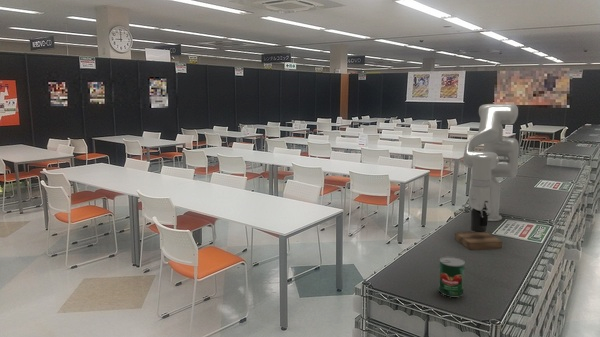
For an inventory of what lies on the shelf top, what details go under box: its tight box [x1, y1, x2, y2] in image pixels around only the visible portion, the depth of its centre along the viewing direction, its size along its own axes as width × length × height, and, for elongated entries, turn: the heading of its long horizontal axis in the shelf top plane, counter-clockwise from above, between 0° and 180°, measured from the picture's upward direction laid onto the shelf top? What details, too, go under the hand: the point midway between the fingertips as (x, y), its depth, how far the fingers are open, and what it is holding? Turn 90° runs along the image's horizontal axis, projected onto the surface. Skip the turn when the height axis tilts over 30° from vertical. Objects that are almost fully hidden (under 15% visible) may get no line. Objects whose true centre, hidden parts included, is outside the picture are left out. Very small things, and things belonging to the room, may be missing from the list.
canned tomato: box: [438, 255, 466, 297], centre depth 137 cm, size 8×8×11 cm
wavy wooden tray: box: [454, 231, 503, 251], centre depth 182 cm, size 14×14×3 cm
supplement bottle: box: [469, 208, 488, 232], centre depth 180 cm, size 7×7×12 cm
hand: (478, 222), depth 180 cm, fingers closed on supplement bottle, 6 cm apart
